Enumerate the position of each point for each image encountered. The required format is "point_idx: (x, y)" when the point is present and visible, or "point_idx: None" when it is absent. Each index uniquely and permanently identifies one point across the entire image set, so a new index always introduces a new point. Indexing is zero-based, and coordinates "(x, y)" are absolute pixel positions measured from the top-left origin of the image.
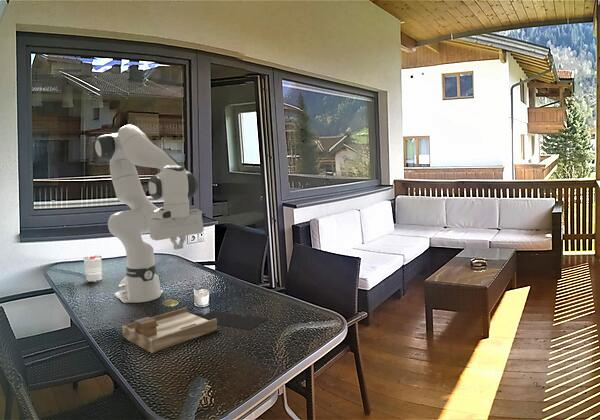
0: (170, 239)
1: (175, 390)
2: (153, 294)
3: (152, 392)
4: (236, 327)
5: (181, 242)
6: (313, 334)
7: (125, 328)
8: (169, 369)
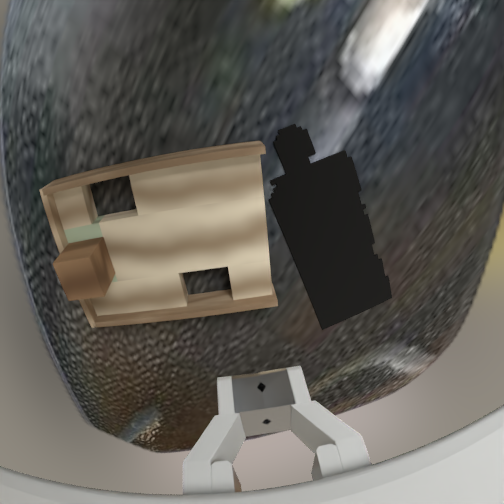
0: (183, 469)
1: (117, 412)
2: None
3: (91, 402)
4: (312, 303)
5: (300, 432)
6: (370, 385)
7: (46, 209)
8: (118, 374)
